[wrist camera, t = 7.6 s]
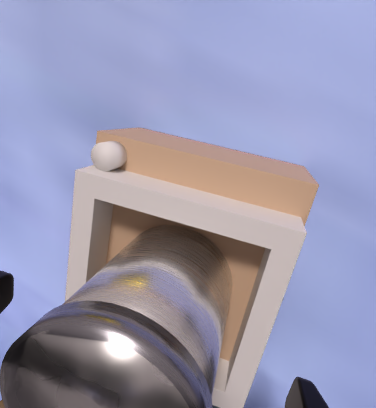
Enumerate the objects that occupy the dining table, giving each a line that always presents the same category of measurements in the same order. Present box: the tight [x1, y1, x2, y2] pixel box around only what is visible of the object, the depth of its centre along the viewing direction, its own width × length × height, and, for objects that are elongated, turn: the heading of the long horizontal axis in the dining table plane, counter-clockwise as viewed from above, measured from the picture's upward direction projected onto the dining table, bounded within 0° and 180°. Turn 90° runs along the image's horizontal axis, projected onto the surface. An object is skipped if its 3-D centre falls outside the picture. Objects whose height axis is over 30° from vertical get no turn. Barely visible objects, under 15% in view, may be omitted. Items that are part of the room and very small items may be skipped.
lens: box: [0, 225, 233, 408], centre depth 9 cm, size 5×5×6 cm
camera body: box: [65, 128, 319, 408], centre depth 13 cm, size 10×8×6 cm
